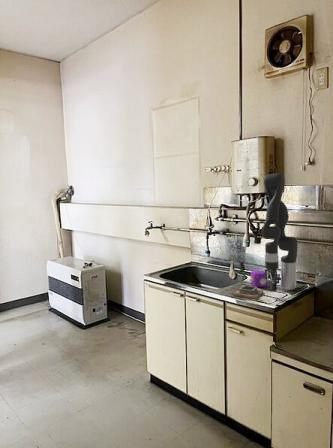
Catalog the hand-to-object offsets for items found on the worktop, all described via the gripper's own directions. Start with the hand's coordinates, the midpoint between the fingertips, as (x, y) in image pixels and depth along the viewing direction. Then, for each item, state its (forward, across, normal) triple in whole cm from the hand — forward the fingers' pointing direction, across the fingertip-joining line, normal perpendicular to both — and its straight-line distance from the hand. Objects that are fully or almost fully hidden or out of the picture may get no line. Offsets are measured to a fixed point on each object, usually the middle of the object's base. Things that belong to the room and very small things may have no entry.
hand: (272, 288), depth 203 cm
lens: (+1, 0, 0) cm, 1 cm away
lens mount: (+5, +10, +10) cm, 15 cm away
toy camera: (+6, +23, -5) cm, 25 cm away
